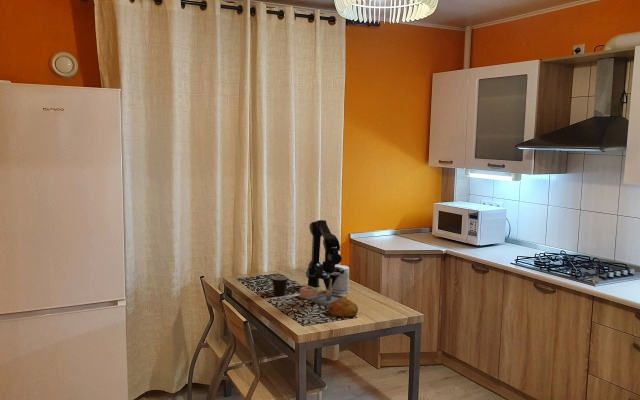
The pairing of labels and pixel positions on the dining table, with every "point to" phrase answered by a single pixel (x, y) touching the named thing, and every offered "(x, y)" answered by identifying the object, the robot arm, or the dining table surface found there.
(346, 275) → the supplement tub
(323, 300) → the tray
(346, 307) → the croissant
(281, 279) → the coffee mug
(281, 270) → the dining table surface
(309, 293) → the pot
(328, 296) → the dowel
